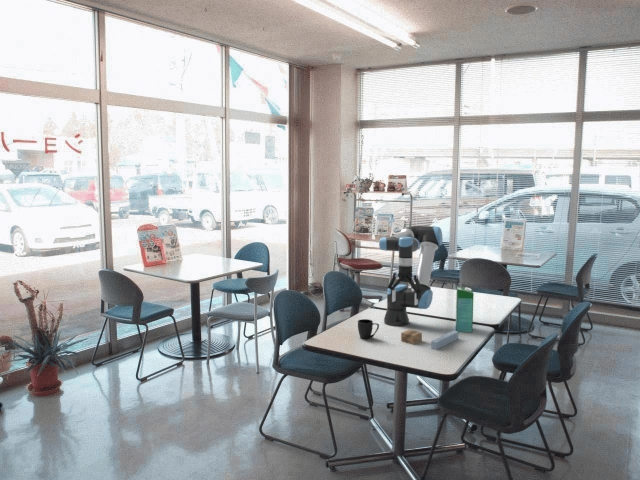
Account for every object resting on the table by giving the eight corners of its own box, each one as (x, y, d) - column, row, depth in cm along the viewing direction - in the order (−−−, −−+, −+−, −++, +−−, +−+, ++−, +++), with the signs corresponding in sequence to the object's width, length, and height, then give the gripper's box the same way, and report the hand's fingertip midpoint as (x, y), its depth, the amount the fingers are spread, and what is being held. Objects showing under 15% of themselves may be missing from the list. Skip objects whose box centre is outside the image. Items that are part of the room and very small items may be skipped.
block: (401, 341, 295) (401, 332, 294) (409, 338, 300) (409, 329, 300) (413, 344, 289) (413, 335, 288) (421, 341, 295) (421, 332, 294)
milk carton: (472, 332, 310) (473, 289, 307) (456, 331, 312) (457, 288, 308) (471, 327, 319) (472, 286, 315) (455, 326, 320) (456, 285, 317)
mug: (375, 341, 294) (375, 324, 293) (355, 338, 299) (355, 322, 298) (381, 337, 301) (381, 321, 300) (361, 334, 307) (361, 318, 305)
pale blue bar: (431, 348, 282) (431, 341, 282) (453, 337, 300) (453, 330, 300) (436, 349, 280) (436, 342, 280) (458, 338, 298) (458, 331, 298)
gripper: (382, 264, 300) (381, 301, 303) (423, 268, 286) (423, 307, 289) (388, 262, 307) (387, 298, 309) (429, 266, 293) (428, 304, 295)
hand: (404, 303), depth 299 cm, fingers open, 13 cm apart
